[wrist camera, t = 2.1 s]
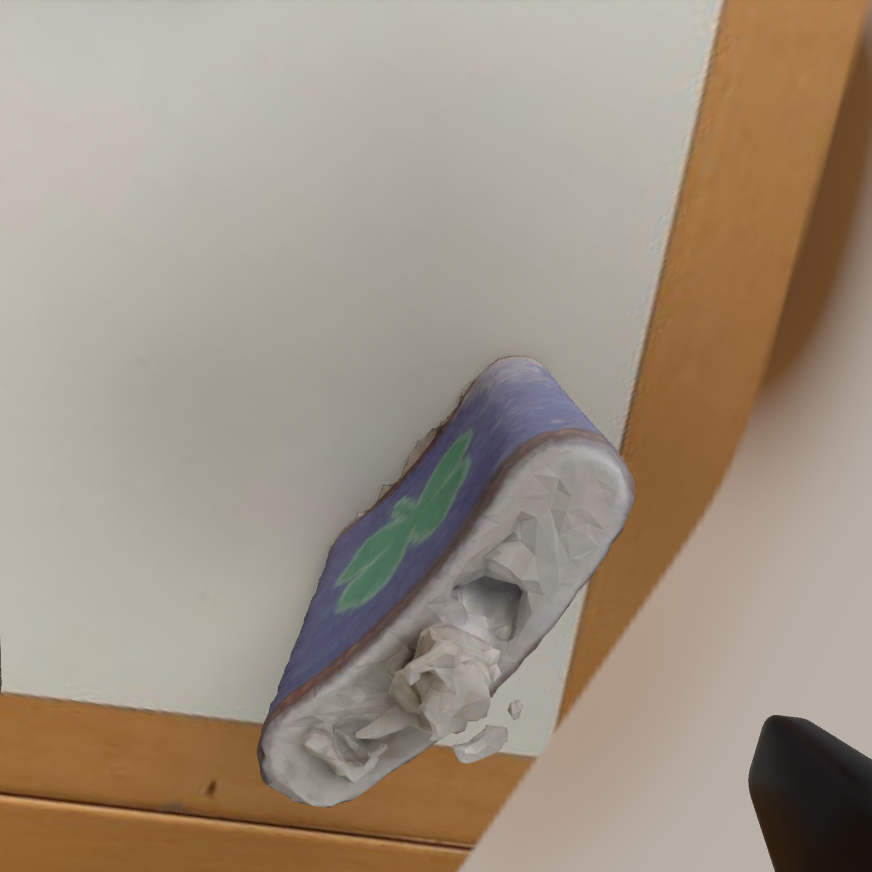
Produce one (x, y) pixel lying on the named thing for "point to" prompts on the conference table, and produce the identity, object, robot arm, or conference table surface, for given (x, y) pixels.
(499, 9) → the conference table surface
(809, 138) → the conference table surface
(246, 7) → the conference table surface
